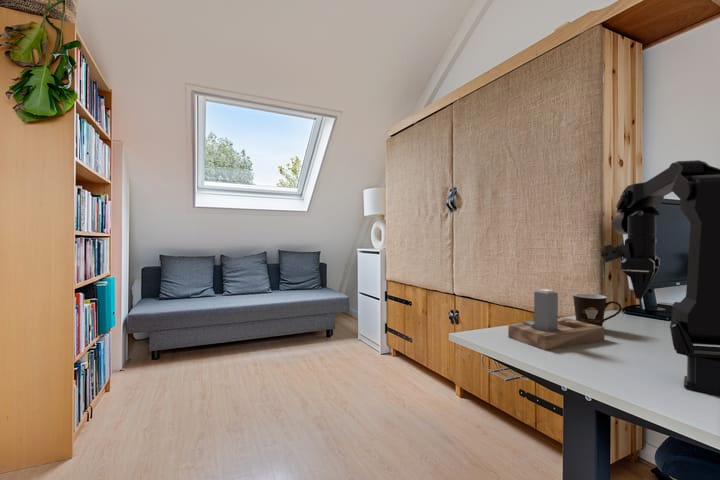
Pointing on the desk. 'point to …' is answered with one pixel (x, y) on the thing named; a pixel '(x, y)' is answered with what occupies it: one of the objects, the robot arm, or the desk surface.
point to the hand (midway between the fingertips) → (640, 296)
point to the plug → (546, 310)
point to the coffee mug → (592, 308)
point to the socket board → (556, 334)
